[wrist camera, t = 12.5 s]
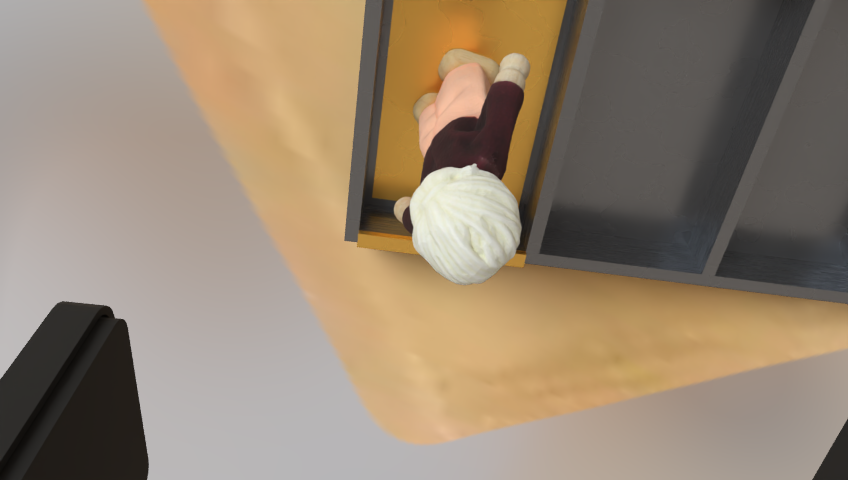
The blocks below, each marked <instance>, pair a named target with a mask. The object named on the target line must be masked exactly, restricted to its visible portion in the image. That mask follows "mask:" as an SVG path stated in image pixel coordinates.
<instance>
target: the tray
mask: <svg viewBox="0 0 848 480" xmlns="http://www.w3.org/2000/svg"><path fill="white" fill-rule="evenodd" d="M453 49H463V50H467V51H470V52H472V53H475V54H478V55H481V56H484V57H487V58H490V59H492V60H494V61H495V62H496V63H497V64H498V65H499V66H500V63H501V61H502V60H503V58H504V57H505V56H507V55H509V54H512V53H519V54H522V55H524V56H525V57H526V58H527V60H528V61H529V63H530V72H529V75H528V77H527V79H526V80H525V82H526V83H525V89H524V101H523V105H522V107H521V110H520V112H519V114H518V117H517V121H516V124H515V128H514V131H513V135H512V140H511V143H510V149H509V153H508V161H507V167H506V171H505V174H504V176H503V178H502V180H501V181H502V182H503V183H504V185H505V186H506V187H507V188H508V189H509V191H510V192H511V193H512V194H513V195H514V197H515V198H516V200H517V203H518V209H519V217H520V223H521V227H522V230H521V234H520V244H519V246H518V247H517V248H516V253H515V255H514V257H513V258H512V259H510V260H509V261H508V262H507V263H506V264H505V266H513V267H521V268H523V267H524V263H526V264H534V265H542V266H550V267H558V268H566V269H574V270H582V271H590V272H598V273H606V274H614V275H622V276H630V277H638V278H646V279H654V280H662V281H670V282H678V283H686V284H694V285H702V286H709V287H717V288H725V289H733V290H741V291H749V292H757V293H765V294H773V295H781V296H789V297H797V298H805V299H813V300H821V301H829V302H837V303H845V304H848V0H366V5H365V16H364V27H363V38H362V50H361V61H360V72H359V83H358V94H357V106H356V117H355V128H354V139H353V150H352V162H351V173H350V184H349V195H348V206H347V218H346V229H345V240H344V241H351V242H357V247H362V248H370V249H378V250H386V251H394V252H402V253H410V254H418V255H420V254H419V253H418V252H417V251H416V249H415V248H414V245H413V240H412V234H411V233H409V232H408V231H407V230H406V229H405V227H404V225H403V223H402V222H400V221H399V220H398V219H397V218H396V216H395V214H394V206H395V203H396V202H397V201H398V200H399V199H400V198H403V197H411V198H412V196H413V194H414V192H415V191H416V189H417V188H418V187H419V186H420V180H421V174H422V169H423V162H424V157H423V155H422V152H421V150H420V145H419V124H418V123H417V121H416V120H415V118H414V115H413V107H414V105H415V103H416V102H417V101H418V100H419V99H420V98H421V97H422V96H423V95H425V94H427V93H439V91H440V88H441V86H442V83H443V81H442V80H441V78H440V76H439V74H438V68H439V64H440V62H441V60H442V58H443V57H444V55H445V54H446V53H447V52H448V51H450V50H453Z"/></svg>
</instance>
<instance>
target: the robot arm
mask: <svg viewBox="0 0 848 480" xmlns="http://www.w3.org/2000/svg"><path fill="white" fill-rule="evenodd" d="M148 468H149V463H148V454H147V448H146V442H145V435H144V429H143V422H142V416H141V410H140V403H139V397H138V391H137V384H136V379H135V372H134V365H133V358H132V352H131V346H130V340H129V333H128V327H127V323H126V322H125V320H123V319H115V317H114V314H113V311H112V309H111V308H110V307H108V306H104V305H94V304H83V303H74V302H64V301H62V302H60V303H57V305H56V306H55V307H54V308H53V309H52V310H51V311H50V313H49V314H48V315H47V317H46V318H45V319H44V321H43V322H42V324H41V325H40V326H39V328H38V329H37V330H36V332H35V333H34V334H33V336H32V337H31V339H30V340H29V341H28V343H27V344H26V345H25V347H24V348H23V349H22V351H21V352H20V353H19V355H18V356H17V358H16V359H15V360H14V362H13V363H12V364H11V366H10V367H9V369H8V370H7V371H6V373H5V374H4V375H3V377H2V378H1V379H0V480H147V476H148ZM812 480H848V419H847V421H846V423H845V424H844V426H843V428H842V430H841V431H840V433H839V435H838V436H837V438H836V440H835V442H834V443H833V445H832V447H831V448H830V450H829V452H828V454H827V455H826V457H825V459H824V461H823V462H822V464H821V466H820V467H819V469H818V471H817V473H816V474H815V476H814V478H813V479H812Z"/></svg>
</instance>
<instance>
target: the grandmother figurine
mask: <svg viewBox="0 0 848 480" xmlns="http://www.w3.org/2000/svg"><path fill="white" fill-rule="evenodd" d="M529 72H530V63H529V61H528V60H527V58H526V57H525V56H524V55H522V54H519V53H512V54H509V55H507V56H505V57H504V58H503V60H502V61H501V63H500V66H499V65H498V64H497V63H496V62H495V61H494V60H492V59H490V58H487V57H484V56H481V55H478V54H475V53H472V52H470V51H467V50H463V49H453V50H450V51H448V52H447V53H446V54H445V55H444V57H443V58H442V60H441V62H440V64H439V68H438V74H439V76H440V78H441V80H442V81H443V83H442V86H441V88H440V91H439V93H427V94H425V95H423V96H422V97H421V98H420V99H419V100H418V101H417V102H416V103H415V105H414V107H413V115H414V118H415V120H416V121H417V123H418V124H419V145H420V150H421V152H422V155H423V157H424V162H423V169H422V174H421V180H420V186H419V187H418V188H417V189H416V191H415V192H414V194H413V196H412V198H411V197H403V198H400V199H399V200H398V201H397V202H396V203H395V206H394V214H395V216H396V218H397V219H398V220H399V221H400V222H402V223H403V225H404V227H405V229H406V230H407V231H408V232H409V233H411V234H412V240H413V245H414V248H415V249H416V251H417V252H418V253H419V254H420V255H421V256H422V257H423V258H425V260H426V261H427V262H428V263H429V264H430V265H431V266H432V267H433V268H434V270H435V271H436V272H438V273H439V274H441V275H442V276H443V277H445V278H446V279H448V280H450V281H452V282H454V283H456V284H460V285H469V284H473V283H476V284H479V283H483V282H485V281H486V280H487V279H489V278H490V277H491V276H493V275H494V274H495V273H496V272H497V271H498V270H499V269H500V268H501V267H502V266H503V265H505V264H506V263H507V262H508V261H509V260H510V259H512V258H513V257H514V255H515V253H516V248H517V247H518V246H519V244H520V234H521V230H522V227H521V223H520V217H519V209H518V203H517V200H516V198H515V197H514V195H513V194H512V193H511V192H510V191H509V189H508V188H507V187H506V186H505V185H504V183H503V182H502V181H501V180H502V178H503V176H504V174H505V171H506V167H507V161H508V153H509V149H510V143H511V140H512V135H513V131H514V128H515V124H516V121H517V117H518V114H519V112H520V110H521V107H522V105H523V101H524V89H525V83H526V82H525V80H526V79H527V77H528V75H529Z"/></svg>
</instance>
